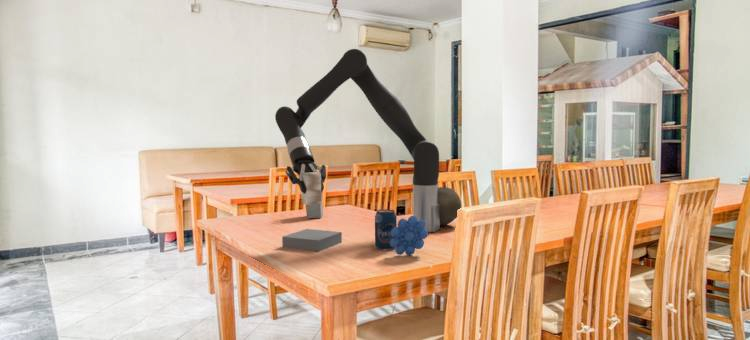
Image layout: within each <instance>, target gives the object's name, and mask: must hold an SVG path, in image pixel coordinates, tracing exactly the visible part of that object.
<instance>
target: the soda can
mask: <svg viewBox="0 0 750 340" xmlns="http://www.w3.org/2000/svg"><path fill="white" fill-rule="evenodd" d="M397 218H398V217H397V215H396V213H395V209H387V208H386V209H385V208H384V209H378V210H376V213H375V215H374V245H375V247H376V249H378V250H381V251H390V250H394V249H395V248H393V247H391V246H390V241H391V239H392V238H394V237H392V236H391V230H392V229H393V228H394V227H398V225H397V224H398V222H397Z"/></svg>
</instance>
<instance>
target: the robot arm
mask: <svg viewBox="0 0 750 340" xmlns="http://www.w3.org/2000/svg"><path fill="white" fill-rule="evenodd" d="M350 79H351V80H352V81H353V82H354V83H355V84H356V86H358V88H359V89H360V90H361V91H362V92H363V94H364V96H365V97H366V99H367V101H368V102H369V103H370V105H371V107H372V108H373V109H374V110H375V113H377V115H378V116H379V118H381V120H382V121H383V122H384V124H385V125H386V126H387V127H388V128H389V129H390V130H391V131H392V132H393V133H394V134H395V135H396V136H397V138H399V139H400V140H401V142H402V144H403V145H404V147H405V148H406V149H407V151H408V153H409V154H410V156H411V158H412V159H413V177H412V216H416V217H417V221H419V220H424V221H425V224H426V225H425V227H424V228H423V229H426V230H427V231H428V233H435V232H437V231H439V230H441V228H440V227H441V226H440V205H439V204H438V188H439V186H438V185H439V184H438V183H439V176H440V173H439V172H440V152H439V148H438V146H437V145H436V144H435V143H433V142H431V141H429V140H428V139H427V138H426V137H425V136H424V135H423V133H421V132H420V130H419V129H418V128H417V127H416V125H415V124H414V122H413V119H412V118H411V116H410V114H409V113H408V111H407V109H406V108H405V106H404V105H403V104H402V102H401V101H400V100H399V98H398V97H397V96H396V95H395V94H394V92H393V91H392V90H390V89H389V88H388V86H387V85H385V84H384V83H383V82H382V81H381V80H380V79H379V78H378V77H377V76H376V75H375V73H374V72H373V70H372V68H371V67H370V66H369V64H368V58H367V55H366V54H365V52H363V51H362V50H360V49H358V48H351V49H348V50H347V51H345V52H344V53H343V55H342V57H341V58H340V59H339V61H338V62H337V63H336V64H335V65H334V66H333V67H332V69H330V71H328V72H327V73H326V74H325V75H324V76H323V77H321V79H319V80H318V81H317V82H316V83H314V84H313V85H312V86H311V87H309V89H307V90H306V91H305V92H304V93H303V94H301V95H300V96H299V97H298V98H297V99H296V104H297V106H298V108H297V110H296V111H294V110H293V108H291V107H290V106H281V107H279V108H278V109H277V110H276V112H275V114H274V115H275V116H274V117H275V122H276V125H277V127H278V129H279V131H280V132H281V134H282V136H283V137H284V141H285V144H286V148H287V153H288V155H289V159H290V162H291V164H292V166H287V167H286V169H285V174H286V176H287V177H288V179H289V180H290V182H291V184H293V185H298V186H299V190H300V192H303V194H305V193H306V191H307V189H306V186H305V183H304V181H303V176H302V173H309V172H314V173H315V172H317V173H321V192H322V193H323V192H324V188H325V185H324V183H325V181H326V179H327V171H326V170H327V169H326V165H325V164H322V165H317V163H316V162H315V158H314V155H313V153H312V150H311V147H310V145H309V143H308V141H307V139H306V138H307V137H306V135H305V133H304V131H303V130H302V127H303V126H304V125H305V123H306V121H307V120H308V119H309V117H310V116H311V114H312V113H314V111H315V110H317V109H318V108H319V107H320V106H321V105H322V104H324V103H325V101H326V100H328V98H329V97H330V96H332V94H334V92H335V91H336V90H337V89H338V88H340V86H342V85H343V84H344V83H346V82H347V81H348V80H350ZM296 174H297V175H298V177H297V176H296Z"/></svg>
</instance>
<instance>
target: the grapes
mask: <svg viewBox="0 0 750 340" xmlns="http://www.w3.org/2000/svg"><path fill="white" fill-rule="evenodd" d="M425 225H426V224H425V221H424V220H419V221H417V217H416V216H413V215H411V216H409V217H408V219H406V218H401V219H399V220H398V222H397V227H394V228H393V229H392V230H391V236H392V237H394V238H392V239H391V241H390V246H391V247H393V248H394V249H395V254H396V255H403V254H404V253H405V255H407V256H412V255H413V254H414V253H415V251H416V250H421V249H422V248H423V247H424V245H425V241H424V240H425V239H426V238H428V235H429V232H428V231H427V230H426V229H423V228H424V227H425Z"/></svg>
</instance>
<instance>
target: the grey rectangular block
mask: <svg viewBox="0 0 750 340" xmlns="http://www.w3.org/2000/svg"><path fill="white" fill-rule="evenodd" d="M322 194H323V191H322V192H321V204H313V205H306V204H305V210H306V212H305V213H306V219H321V218H322V217H323V216H324V207H323V195H322Z"/></svg>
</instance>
